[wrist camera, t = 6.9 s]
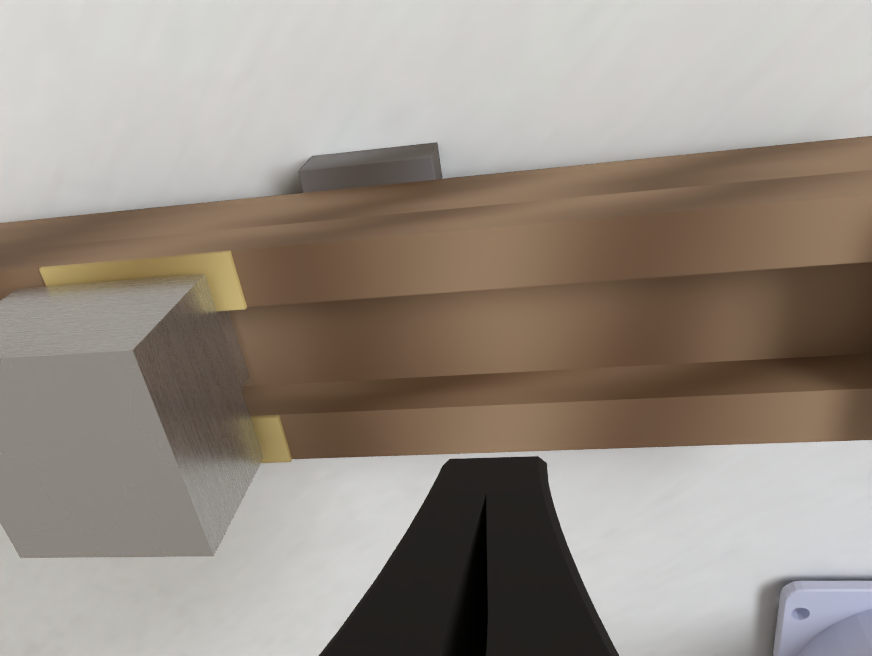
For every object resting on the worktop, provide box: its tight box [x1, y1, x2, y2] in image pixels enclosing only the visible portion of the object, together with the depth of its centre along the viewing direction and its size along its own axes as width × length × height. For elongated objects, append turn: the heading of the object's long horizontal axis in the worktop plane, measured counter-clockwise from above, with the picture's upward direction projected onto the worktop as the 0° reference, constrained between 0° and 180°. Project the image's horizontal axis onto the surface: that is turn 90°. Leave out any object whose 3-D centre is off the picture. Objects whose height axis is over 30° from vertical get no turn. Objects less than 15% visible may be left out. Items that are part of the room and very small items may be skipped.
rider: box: [0, 274, 263, 558], centre depth 14 cm, size 4×4×4 cm
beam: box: [0, 136, 872, 463], centre depth 16 cm, size 22×6×6 cm, turn 98°
